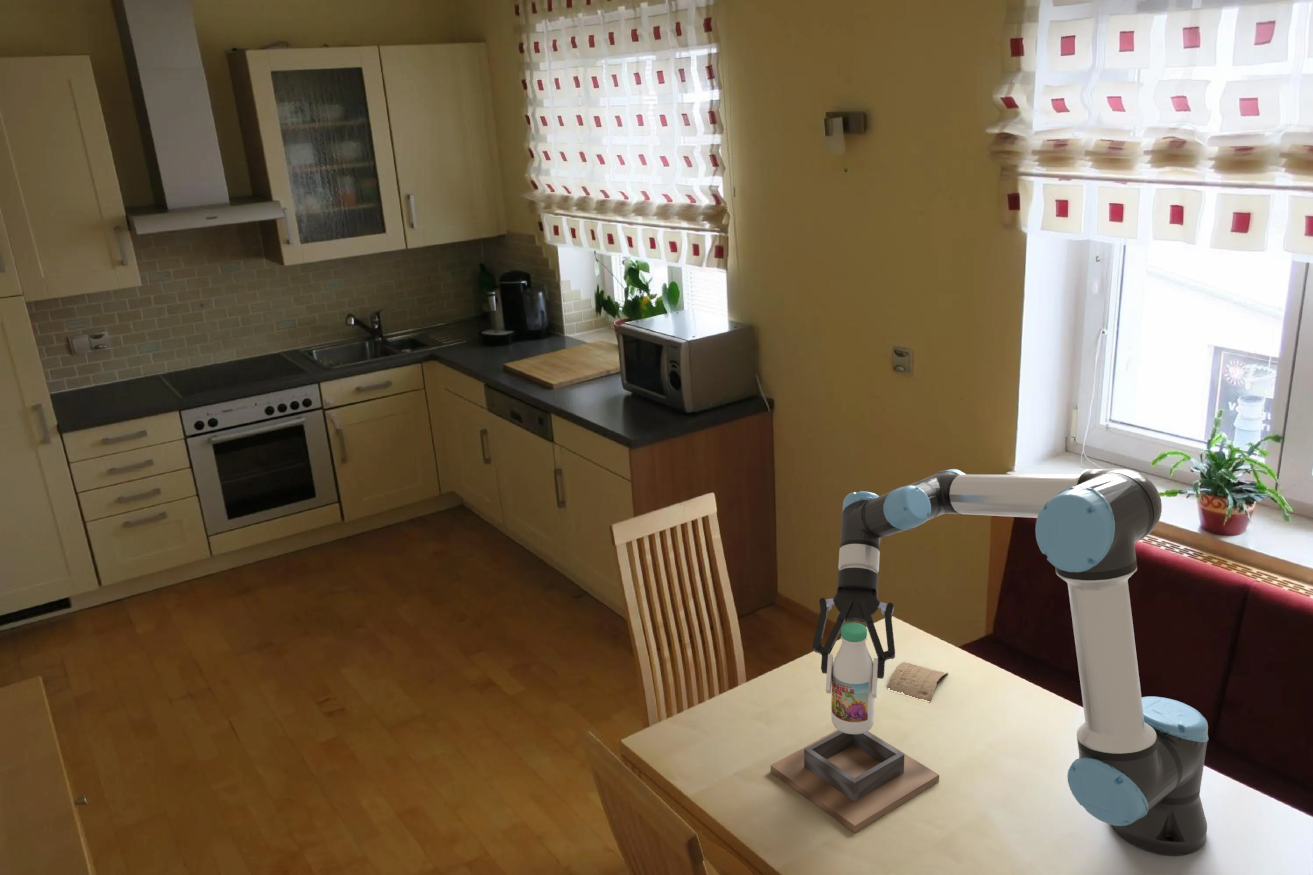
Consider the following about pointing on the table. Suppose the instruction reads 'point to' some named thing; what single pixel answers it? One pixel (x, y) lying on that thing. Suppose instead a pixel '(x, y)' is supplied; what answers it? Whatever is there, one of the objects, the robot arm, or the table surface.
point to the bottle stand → (854, 776)
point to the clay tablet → (915, 680)
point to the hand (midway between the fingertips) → (851, 693)
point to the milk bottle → (852, 682)
